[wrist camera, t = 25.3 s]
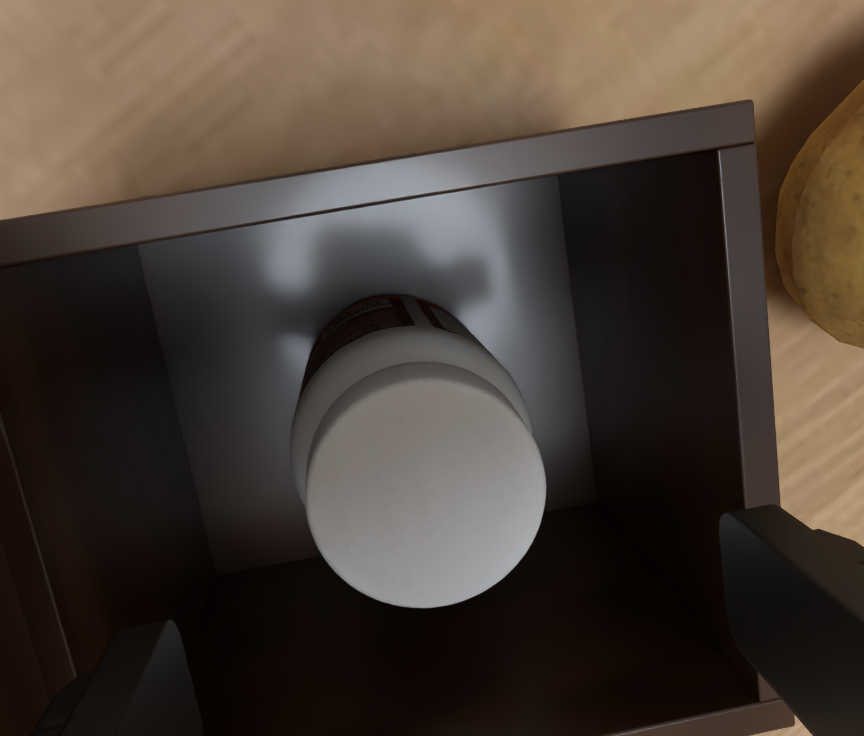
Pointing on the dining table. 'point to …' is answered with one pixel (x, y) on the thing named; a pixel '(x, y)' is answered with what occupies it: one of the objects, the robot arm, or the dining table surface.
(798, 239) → the potato
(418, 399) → the pill bottle
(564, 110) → the dining table surface
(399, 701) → the chest
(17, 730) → the lid
